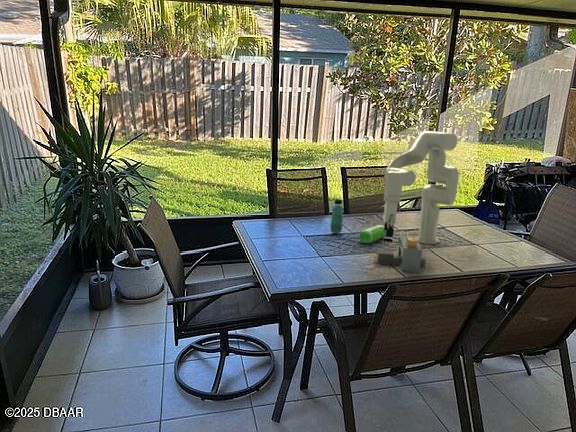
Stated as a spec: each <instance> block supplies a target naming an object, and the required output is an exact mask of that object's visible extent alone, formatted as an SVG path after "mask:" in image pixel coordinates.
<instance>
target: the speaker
mask: <svg viewBox="0 0 576 432" xmlns="http://www.w3.org/2000/svg"><path fill="white" fill-rule="evenodd" d="M384 226H385V225H382V224H377V225H375V226H372V227H369V228H366V229H364V230H362V231H361V232H360V234H359V239H360V241H361V242H362V243H364V244H371V243H374V242H377V241H379V240H381V239H382V238H384V237H386V230H384Z"/></svg>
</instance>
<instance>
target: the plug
mask: <svg viewBox="0 0 576 432" xmlns="http://www.w3.org/2000/svg"><path fill="white" fill-rule="evenodd" d="M372 257H373V259H376V261H377V264H383V265H384V264H385V265H400V258H401V256H397V255H395V254H394V250H386V249H377V254H375V253H373V255H372ZM426 262H427V260H426V257H421V263H420V267H426V264H427V263H426Z"/></svg>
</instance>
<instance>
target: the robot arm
mask: <svg viewBox="0 0 576 432" xmlns="http://www.w3.org/2000/svg"><path fill="white" fill-rule="evenodd" d="M457 144H458V136H457V134H455V133H450V132H443V131H430V130H425V131H421V132H419V134H418V135H417V136H416V138H415V140H414V141H413V143H412V144H411V146H410V148H409V149H408V151H405V152H403V153H401V154H400V155H398V156H396V157H395V158H394V159H392V161H391V162H390V163H389V164H388V166H387V167H386V169H385V172H384V180H385V185H384V193H383V194H384V195H383V201H384V202H385V203H384V210H383V215H382V216H383V217H382V219H383V222H384V225H383V226H384V230H386V235H385V237H389V238H393V237H394V232H395V231H394V230H395V226H394V225H395V224H396V221H397V214H398V205H399V203H401V200H402V194H403V193H402V192H403V187H410V186H413V185H414V184H415V183H416V180H417V176H416V173H415V172H414V171H413V170H410V169H404V167H407V166H413V165H418V164H421V163H422V162H424V160H425V158H426V157H427V155H428V159H427V160H428V162H427V170H426V179H427V180H428V181H429V182H432V183H429V184H425V185H423V186H422V189H421V207H420V217H419V227H418V233H417V235H415V236H416V238H417V240H418V242H419V244H420V243H421V244H425V245H436V244H438V243H439V241H440V240H439V238H437V234H438V226H439V219H440V214H441V213H440V207H439V205H442V206H443V205H445V206H451V205H454V203H455V201H456V198H457V197H456V196H457V189H458V185H459V176H460V174H459V173H460V172H459V170H458V168H457V167H455V166H452V165H451V166H450V165H446V158H447V154H446V152H445V151H450V152H451V151H453V150H455V148H456V147H457ZM434 183H436V184H434ZM438 184H439V185H438ZM440 184H441V185H440Z"/></svg>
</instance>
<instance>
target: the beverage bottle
mask: <svg viewBox="0 0 576 432" xmlns="http://www.w3.org/2000/svg"><path fill="white" fill-rule="evenodd" d="M334 204H335V205H333V206H332V208H331V219H330V220H331V221H330V232H331V233H333V234H340V233H342V232H343V217H344V207H343V205H342V204H343V201H342V199H340V198H339V199H338V198H337V199H334Z"/></svg>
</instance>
